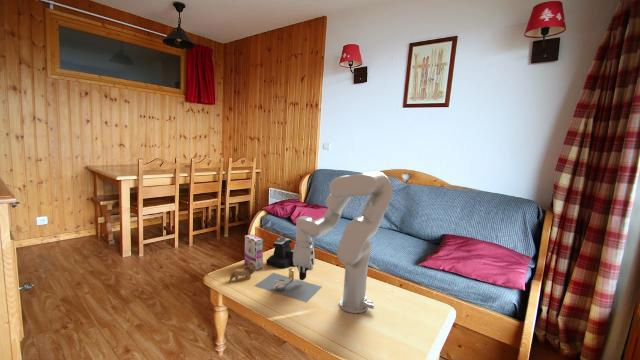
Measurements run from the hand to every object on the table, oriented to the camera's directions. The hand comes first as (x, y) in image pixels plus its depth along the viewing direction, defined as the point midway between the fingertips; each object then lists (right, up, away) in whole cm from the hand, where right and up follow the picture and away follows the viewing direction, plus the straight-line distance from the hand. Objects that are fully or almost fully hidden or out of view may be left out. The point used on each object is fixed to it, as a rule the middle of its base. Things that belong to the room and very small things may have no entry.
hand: (302, 278), depth 152 cm
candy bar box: (-28, +1, +20) cm, 34 cm away
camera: (-11, +1, +26) cm, 28 cm away
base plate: (-7, -4, -2) cm, 8 cm away
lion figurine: (-30, -2, +3) cm, 30 cm away
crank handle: (-9, -2, -3) cm, 9 cm away
